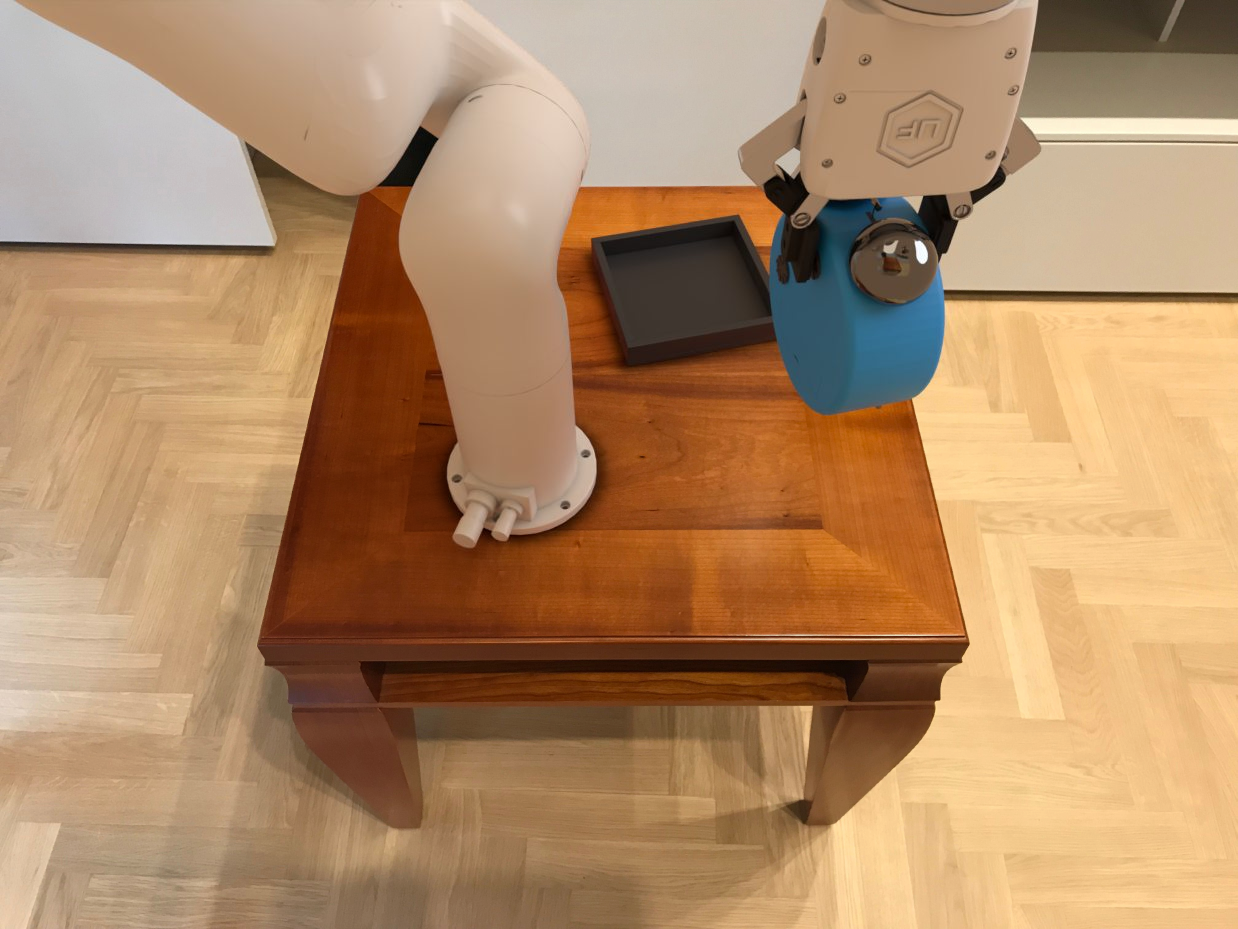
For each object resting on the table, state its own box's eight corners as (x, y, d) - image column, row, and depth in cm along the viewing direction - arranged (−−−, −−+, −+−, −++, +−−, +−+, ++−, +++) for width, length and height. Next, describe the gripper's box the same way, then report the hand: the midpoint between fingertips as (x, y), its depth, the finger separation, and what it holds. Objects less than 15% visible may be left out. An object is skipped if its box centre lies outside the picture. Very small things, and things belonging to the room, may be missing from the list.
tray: (786, 338, 90) (790, 318, 88) (627, 367, 88) (627, 347, 86) (736, 233, 99) (739, 213, 97) (591, 257, 97) (590, 237, 95)
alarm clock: (911, 442, 60) (983, 262, 48) (820, 460, 60) (871, 282, 48) (836, 303, 68) (882, 117, 56) (754, 317, 67) (783, 132, 55)
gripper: (761, 3, 39) (722, 317, 53) (1170, -14, 40) (1024, 299, 54) (733, -81, 43) (704, 229, 58) (1102, -94, 44) (983, 215, 58)
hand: (859, 261), depth 56 cm, fingers closed on alarm clock, 6 cm apart
